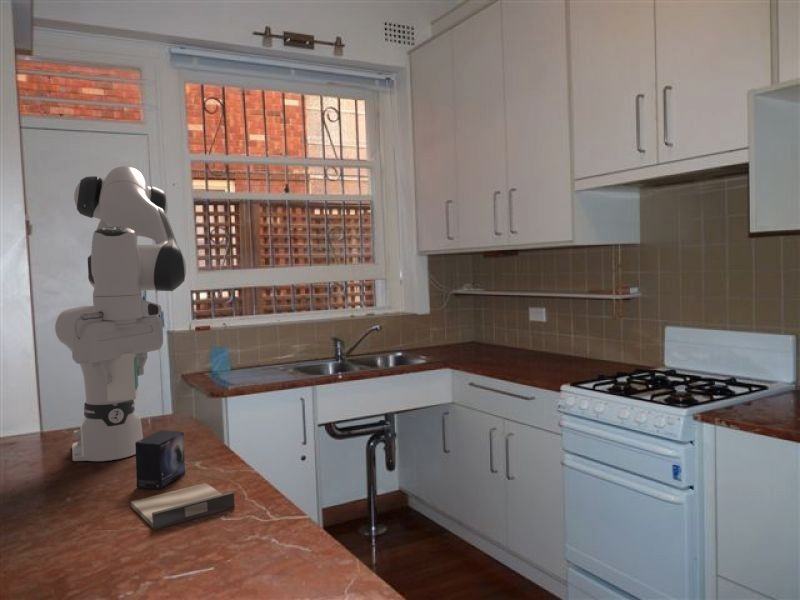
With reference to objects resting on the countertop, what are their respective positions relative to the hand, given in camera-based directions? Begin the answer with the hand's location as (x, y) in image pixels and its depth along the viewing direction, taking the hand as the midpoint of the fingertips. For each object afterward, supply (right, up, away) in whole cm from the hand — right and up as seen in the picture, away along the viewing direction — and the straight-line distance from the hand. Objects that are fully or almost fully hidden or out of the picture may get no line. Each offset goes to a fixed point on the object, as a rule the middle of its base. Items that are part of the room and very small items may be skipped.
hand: (122, 379), depth 126 cm
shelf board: (+10, -27, +5) cm, 29 cm away
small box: (0, -26, +20) cm, 33 cm away
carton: (0, -4, 0) cm, 4 cm away
